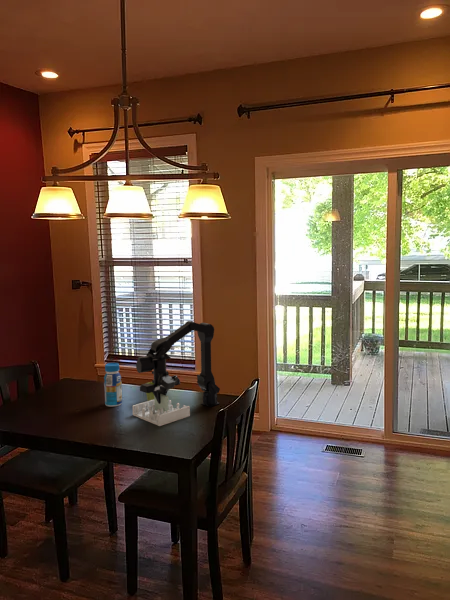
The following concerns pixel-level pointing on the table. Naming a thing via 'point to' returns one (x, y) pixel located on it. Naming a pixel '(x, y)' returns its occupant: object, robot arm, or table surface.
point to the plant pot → (150, 394)
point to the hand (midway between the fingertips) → (161, 403)
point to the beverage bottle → (112, 385)
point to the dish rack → (160, 413)
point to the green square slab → (162, 403)
